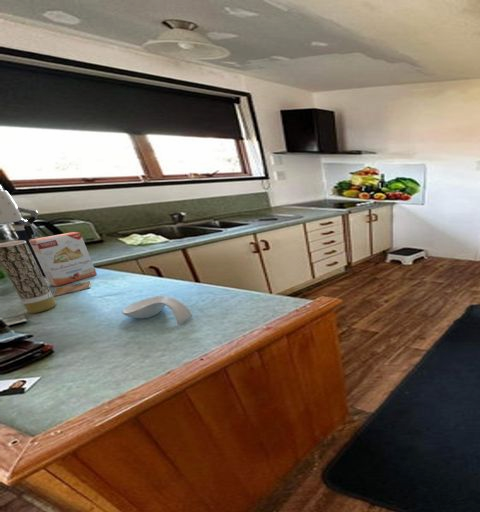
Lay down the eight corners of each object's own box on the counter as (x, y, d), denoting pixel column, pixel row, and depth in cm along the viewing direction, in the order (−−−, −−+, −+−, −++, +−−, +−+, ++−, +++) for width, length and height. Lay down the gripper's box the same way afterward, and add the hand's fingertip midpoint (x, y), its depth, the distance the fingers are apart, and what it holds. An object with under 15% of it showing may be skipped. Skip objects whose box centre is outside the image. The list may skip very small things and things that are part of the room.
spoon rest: (116, 320, 89) (108, 301, 87) (154, 303, 99) (148, 285, 97) (169, 331, 82) (161, 310, 80) (203, 311, 93) (198, 292, 90)
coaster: (54, 296, 107) (53, 295, 107) (56, 289, 114) (56, 288, 114) (90, 288, 114) (89, 287, 114) (90, 281, 121) (90, 280, 121)
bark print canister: (33, 315, 94) (-3, 246, 86) (24, 312, 96) (-13, 245, 88) (61, 306, 100) (29, 241, 92) (51, 303, 102) (19, 239, 94)
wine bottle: (34, 278, 126) (2, 215, 116) (32, 275, 130) (0, 213, 120) (55, 273, 131) (25, 212, 121) (52, 271, 135) (23, 211, 125)
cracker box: (57, 287, 116) (35, 240, 109) (49, 285, 118) (27, 239, 111) (98, 274, 129) (80, 232, 122) (90, 273, 131) (72, 231, 124)
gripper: (-76, 191, 75) (-41, 249, 81) (22, 185, 87) (47, 236, 93) (-65, 189, 80) (-33, 244, 86) (26, 184, 92) (49, 233, 98)
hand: (8, 240), depth 89 cm, fingers open, 9 cm apart
